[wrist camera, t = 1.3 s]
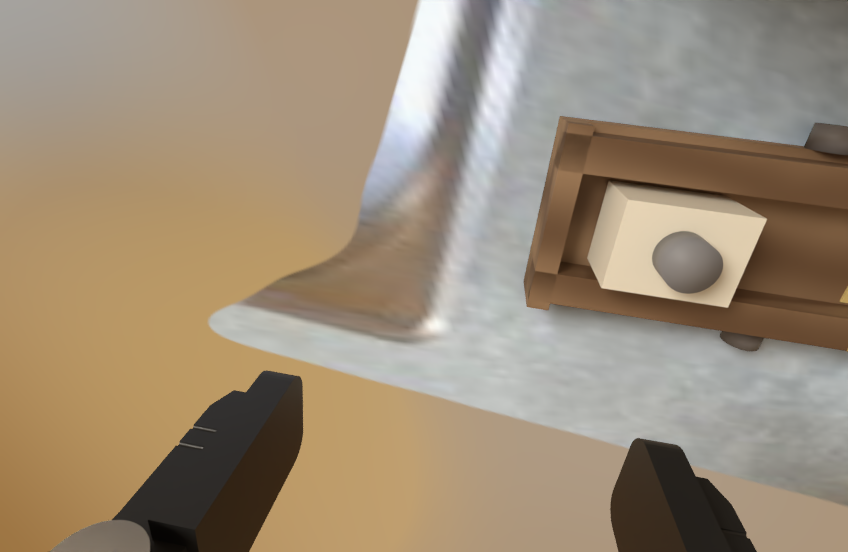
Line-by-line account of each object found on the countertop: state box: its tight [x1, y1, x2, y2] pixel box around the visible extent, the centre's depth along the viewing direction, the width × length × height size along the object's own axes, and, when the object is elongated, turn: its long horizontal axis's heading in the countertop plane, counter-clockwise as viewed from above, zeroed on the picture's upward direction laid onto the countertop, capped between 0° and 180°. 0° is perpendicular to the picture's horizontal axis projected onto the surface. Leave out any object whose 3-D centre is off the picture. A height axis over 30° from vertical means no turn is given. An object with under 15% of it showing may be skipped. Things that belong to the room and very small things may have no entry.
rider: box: [587, 180, 767, 308], centre depth 23 cm, size 4×6×6 cm
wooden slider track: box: [524, 116, 848, 351], centre depth 24 cm, size 12×26×4 cm, turn 84°
